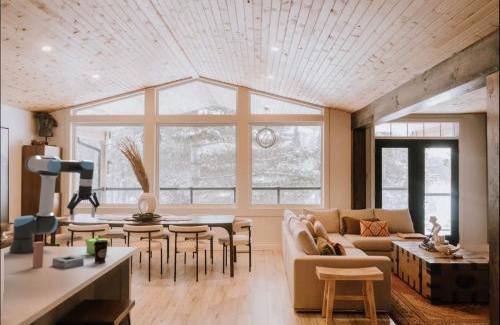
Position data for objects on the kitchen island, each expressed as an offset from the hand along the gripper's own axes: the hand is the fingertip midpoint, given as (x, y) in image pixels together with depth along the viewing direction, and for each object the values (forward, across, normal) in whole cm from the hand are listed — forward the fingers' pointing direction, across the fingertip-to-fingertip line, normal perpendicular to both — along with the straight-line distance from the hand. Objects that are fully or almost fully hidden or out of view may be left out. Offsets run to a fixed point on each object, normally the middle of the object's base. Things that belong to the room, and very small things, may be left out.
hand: (82, 218), depth 248 cm
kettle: (+28, +14, +5) cm, 31 cm away
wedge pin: (+24, -27, -4) cm, 37 cm away
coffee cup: (+24, +4, -17) cm, 30 cm away
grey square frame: (+24, -13, -12) cm, 30 cm away
